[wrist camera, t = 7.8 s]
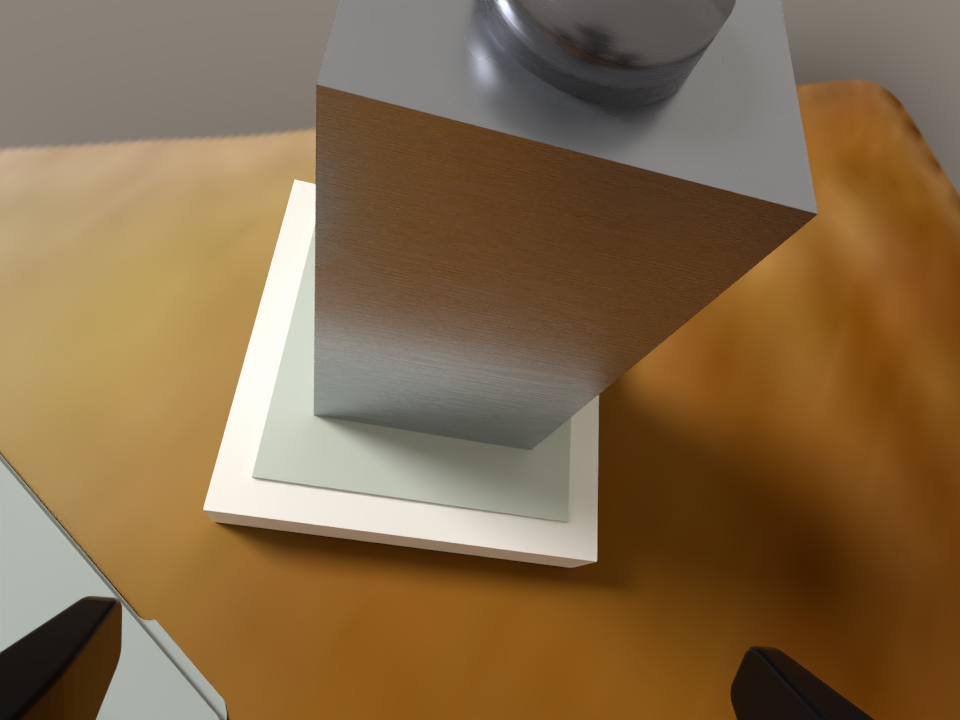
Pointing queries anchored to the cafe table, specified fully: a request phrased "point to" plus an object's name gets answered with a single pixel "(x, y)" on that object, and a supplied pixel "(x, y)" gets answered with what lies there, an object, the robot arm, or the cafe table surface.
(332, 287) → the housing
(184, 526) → the cafe table surface
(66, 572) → the metal bracket
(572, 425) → the plinth
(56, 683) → the robot arm
